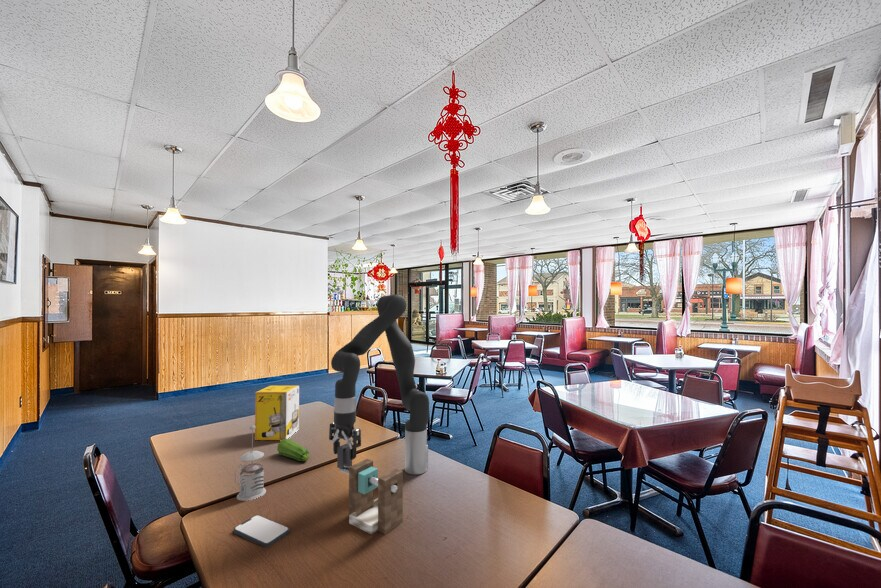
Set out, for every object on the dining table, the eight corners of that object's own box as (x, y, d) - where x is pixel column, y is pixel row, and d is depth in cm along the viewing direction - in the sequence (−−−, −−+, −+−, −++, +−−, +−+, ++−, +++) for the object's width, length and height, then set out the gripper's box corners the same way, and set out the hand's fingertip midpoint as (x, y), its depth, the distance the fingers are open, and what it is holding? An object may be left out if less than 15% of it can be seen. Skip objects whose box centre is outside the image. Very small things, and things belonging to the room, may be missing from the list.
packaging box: (286, 441, 187) (286, 392, 187) (254, 441, 187) (255, 392, 188) (298, 430, 203) (299, 385, 204) (269, 430, 203) (270, 385, 204)
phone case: (291, 533, 112) (257, 518, 119) (291, 528, 112) (257, 513, 119) (266, 550, 104) (231, 533, 111) (266, 545, 104) (231, 528, 111)
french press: (272, 489, 137) (273, 422, 138) (246, 505, 126) (247, 432, 127) (252, 485, 140) (253, 420, 141) (225, 500, 129) (226, 429, 130)
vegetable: (284, 434, 173) (311, 443, 162) (290, 445, 176) (317, 455, 165) (271, 445, 168) (298, 455, 157) (278, 457, 170) (304, 468, 159)
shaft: (337, 473, 126) (337, 447, 127) (346, 469, 130) (346, 443, 130) (390, 495, 112) (390, 465, 112) (399, 489, 115) (399, 460, 115)
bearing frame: (342, 519, 117) (343, 469, 118) (372, 502, 128) (372, 456, 129) (379, 538, 108) (379, 484, 108) (407, 518, 118) (407, 468, 119)
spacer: (358, 491, 119) (358, 473, 119) (371, 484, 123) (371, 466, 124) (364, 494, 117) (364, 475, 117) (377, 486, 122) (377, 468, 122)
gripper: (367, 410, 127) (366, 457, 126) (340, 403, 135) (339, 448, 135) (350, 415, 121) (349, 464, 120) (323, 408, 129) (322, 454, 128)
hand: (344, 456), depth 127 cm, fingers open, 8 cm apart
